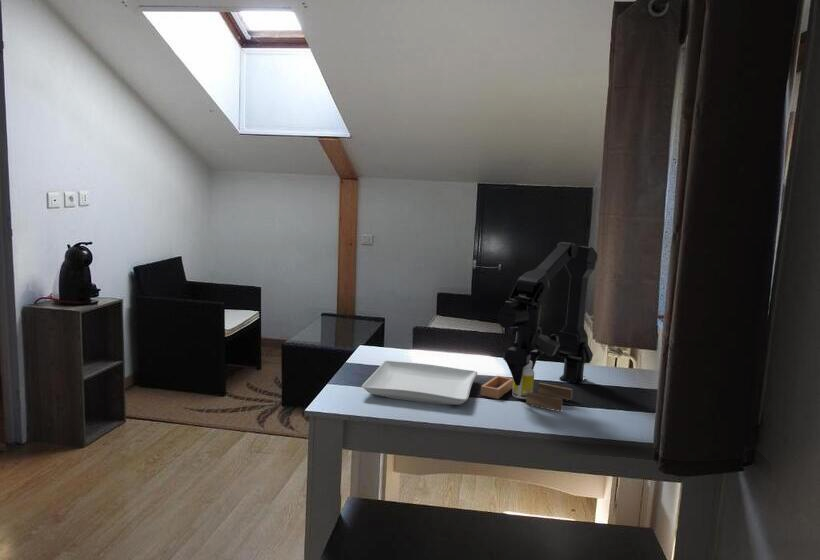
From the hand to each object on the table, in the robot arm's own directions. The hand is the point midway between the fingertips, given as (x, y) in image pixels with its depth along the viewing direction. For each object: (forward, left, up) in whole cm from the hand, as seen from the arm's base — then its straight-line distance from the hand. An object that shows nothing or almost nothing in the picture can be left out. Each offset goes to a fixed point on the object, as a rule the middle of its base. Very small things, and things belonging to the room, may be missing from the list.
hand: (523, 380), depth 172 cm
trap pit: (0, -7, -4) cm, 8 cm away
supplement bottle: (0, 0, -4) cm, 4 cm away
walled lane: (0, +7, -4) cm, 9 cm away
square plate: (+11, -25, -5) cm, 27 cm away
